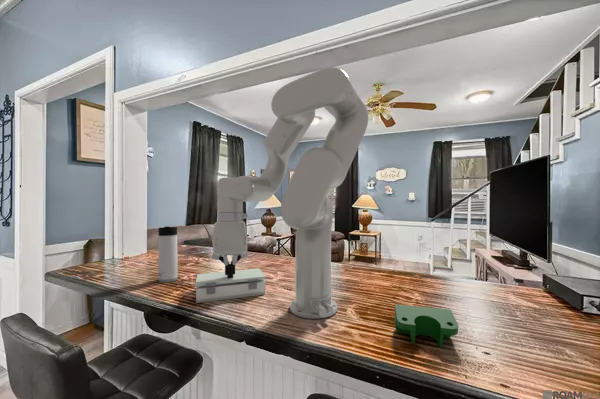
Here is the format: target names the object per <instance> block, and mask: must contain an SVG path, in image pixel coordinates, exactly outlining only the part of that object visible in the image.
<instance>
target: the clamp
mask: <svg viewBox="0 0 600 399" xmlns="http://www.w3.org/2000/svg"><path fill="white" fill-rule="evenodd" d="M394 327H395V329H396V332H398V333H399V334H409V336H410V341H411V344H412V345H415V344H416V337H417V336H422V337H423V336H425V337H431V338H433V339H434V340H435V341H437V343H438V345H439V348H441V349H442V348H443V347H444V339H450V338H451V337H452V336H456V335H458V333H459V323H458V322H457V320H456V318H455V315H454V313H453V312H452V309H449V308H447V309H446V308H439V307H438V308H437V307H426V306H418V305H417V306H415V305H413V306H412V305H404V304H394Z"/></svg>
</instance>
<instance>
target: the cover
mask: <svg viewBox="0 0 600 399" xmlns="http://www.w3.org/2000/svg"><path fill="white" fill-rule="evenodd" d="M258 280H265V281H266V280H267V275H266V274H265V273H264V272H263V271H262V270H261V269H260V268H250V269H239V270H236V269H235V274H234V275H233V278H231V277H230V278H228V277H227V275H225V271H218V272H217V271H215V272H208V273H207V272H206V273H197V275H196V279H195V283H194V284H195V285H194V286H195V288H196V287H199V286H205V287H207V286H216V285H218V284H227V283H237V282H246V281H248V282H254V281H258Z"/></svg>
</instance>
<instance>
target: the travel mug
mask: <svg viewBox="0 0 600 399" xmlns="http://www.w3.org/2000/svg"><path fill="white" fill-rule="evenodd" d="M157 229H158V240H157V241H158V246H157V249H158V256H157V257H158V261H157V264H158V265H157V266H158V282H159V283H162V284H165V283H166V284H167V283H172V282H176V281H177V280H178V277H179V276H178V274H179V273H178V270H179V269H178V266H179V265H178V264H179V263H178V258H179V257H178V227H177V226H163V227H158V228H157Z"/></svg>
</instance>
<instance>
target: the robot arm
mask: <svg viewBox="0 0 600 399" xmlns="http://www.w3.org/2000/svg"><path fill="white" fill-rule="evenodd" d="M270 104H271V106H270V107H271V110H272V113H273V114H274V116H276V120H275V122H274V124H273V126H272V127H271V129H270V130H269V131H268V134H267V135H266V136H265V138H264V140H263V144H264V147H265V150H266V152H267V155H268V156H267V157H268V158H267V164H266V166H265V169H264V170H263V171H262V173H261V174H260V176H253V175H252V176H251V175H242V176H241V175H240V176H237V177H232V176H231V177H230V176H229V177H221V178H219V179H218V182H217V221H216V222H214V226H213V237H212V256H211V259H212V260H215V261H217V260H218V261H219V262H221V263H223V264H224V272H225V275H227V277H228V278H230V277H231V278H233V275H234V274H235V271H236V265H237V263H238V262H239V261H240V260H241V259H244V258H248V257H249V255H248V235H247V227H246V222H245V221H244V220H245V219H248V216H249V215H248V213H244V209H243V208H244V204H243V203H244V202H245V203H246V202H247V203H248V202H249V203H251V202H252V203H253V202H266V201H268V200H270V199H271V198H272V197H273V195H275V193H276V191H277V190H278V189H279V188H280V186H281V184H282V182H283V180H284V179H285V177H286V173H287V170H288V167H289V162H290V160H289V159H290V157H291V155H292V154H293V152H294V151H295V150H296V148H297V146H298V145H299V143H300V141H301V140H302V138H303V137H304V136H305V134H306V133H307V131H308V130H309V128H310V126H311V124H312V123H313V122H314V120H315V117H316V110H319V109H322V108H324V109H325V110H326V111H327V112H328V113H330V115H331V116H332V117H333V118H334V119H335V122H334V123H333V125H332V127H331V128H330V130H329V131H328V133H327V136H326V137H325V141H324V142H323V145H322V146H315V147H312V148H310V149H308V150H306V151H305V152H304V153H303V155H302V156H301V157H300V159H299V160H298V162H297V164H296V166H295V168H294V171H293V173H292V176H291V179H290V180H289V183H288V185H287V187H286V190H285V193H284V195H283V196H282V200H281V203H280V214H281V218H282V221H284V223H285V224H286V225H287V226H288V227H290V228H292V229H294V230H296V233H295V244H294V246H295V249H294V250H295V252H294V254H295V256H294V257H295V299H293V300H292V301H291V302H290V303H289V310H290V312H291V313H292V314H294V315H295V316H297V317H300V318H303V319H310V320H311V319H312V320H315V319H316V320H317V319H324V318H328V317H332V316H333V315H335V314H336V312H337V311H338V304H337V302H336V301H335V300H334V299H332V229H333V228H332V226H333V221H334V220H333V217H334V207H333V204H332V201H331V199H330V198H329V196H328V195H329V194H328V193H329V191H330V189H336V188H338V187H339V186H341V185H342V184H343V182H344V180H345V179H346V177H347V175H348V172H349V170H350V167H351V165H352V162H353V161H354V158H355V157H356V155H357V151H358V149H359V147H360V144H361V142H362V140H363V138H364V136H365V133H366V131H367V129H368V123H369V112H368V107H367V105H366V104H365V102H364V100H363V99H362V97H361V95H359V93H358V92H357V90H356V88H355V86H354V85H353V82H352V81H351V78H350V77H349V75H348V74H347V73H346V72H345V70H343V69H341V68H339V67H335V66H330V67H324V68H322V69H319V70H316V71H314V72H312V73H309V74H307V75H305V76H302V77H299V78H297V79H295V80H293V81H290V82H289V83H286V84H285V85H283V86H282V87H280V88H279V89H278V90H277V91H276V92H275V93H274V94H273V97H272V99H271V103H270ZM229 256H232V257H231V261H229V258H228V257H229Z"/></svg>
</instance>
